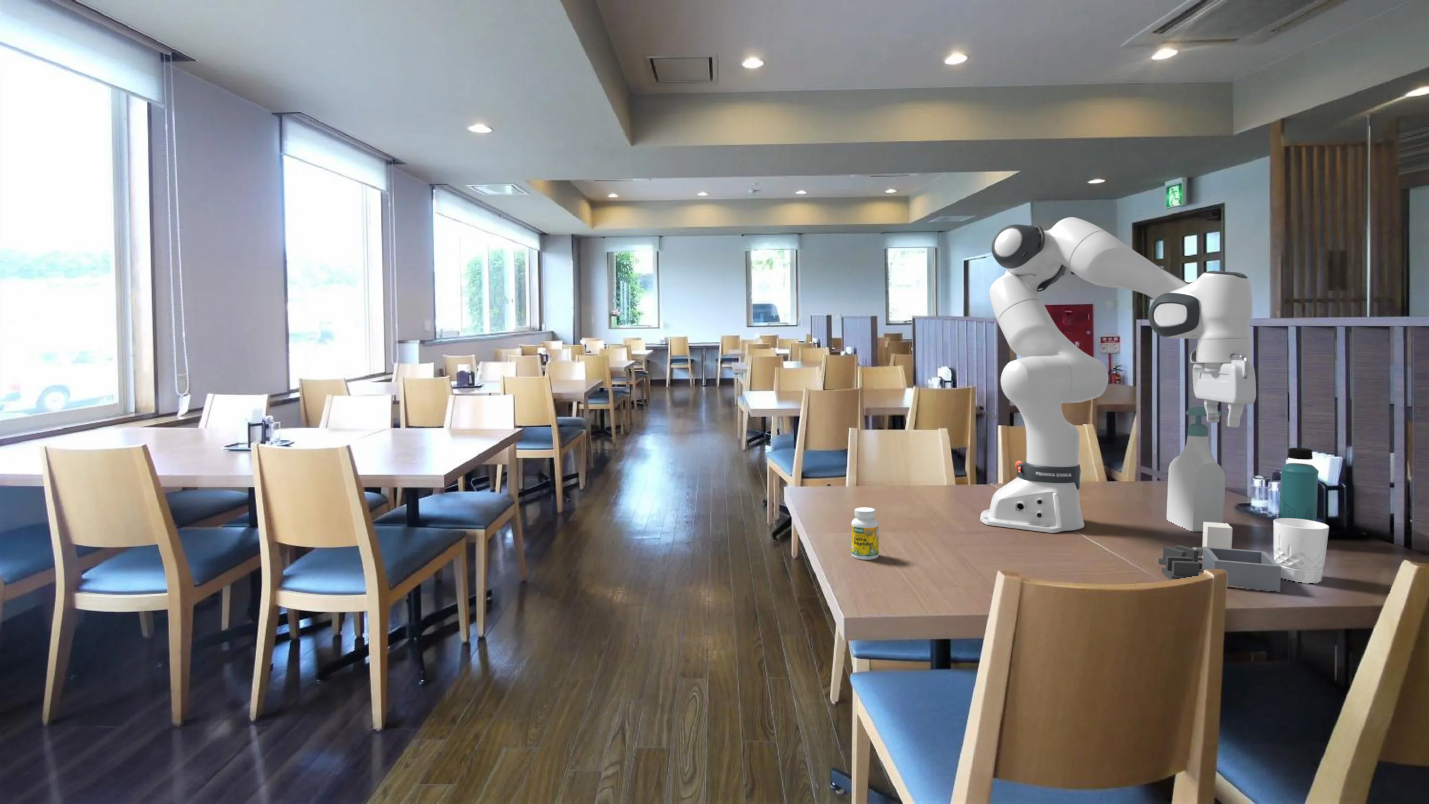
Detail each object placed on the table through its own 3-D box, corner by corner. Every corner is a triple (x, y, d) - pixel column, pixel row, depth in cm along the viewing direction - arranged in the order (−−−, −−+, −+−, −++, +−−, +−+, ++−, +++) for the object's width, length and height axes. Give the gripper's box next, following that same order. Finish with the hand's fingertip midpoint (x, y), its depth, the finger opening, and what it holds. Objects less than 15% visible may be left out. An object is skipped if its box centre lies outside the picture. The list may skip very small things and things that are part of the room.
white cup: (1259, 572, 141) (1262, 518, 140) (1299, 570, 141) (1302, 517, 141) (1295, 586, 133) (1298, 529, 132) (1337, 584, 134) (1341, 528, 133)
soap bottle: (1231, 532, 168) (1237, 408, 166) (1192, 532, 169) (1198, 408, 167) (1202, 520, 179) (1208, 404, 177) (1166, 520, 180) (1171, 404, 177)
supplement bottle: (879, 553, 155) (880, 507, 154) (877, 561, 150) (877, 513, 149) (852, 551, 156) (853, 505, 156) (849, 559, 151) (849, 511, 151)
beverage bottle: (1322, 547, 156) (1328, 450, 154) (1286, 546, 157) (1291, 450, 156) (1305, 539, 162) (1310, 446, 161) (1269, 537, 164) (1274, 445, 162)
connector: (1194, 561, 148) (1195, 525, 147) (1190, 555, 152) (1191, 520, 151) (1230, 564, 146) (1232, 528, 145) (1225, 558, 149) (1227, 523, 149)
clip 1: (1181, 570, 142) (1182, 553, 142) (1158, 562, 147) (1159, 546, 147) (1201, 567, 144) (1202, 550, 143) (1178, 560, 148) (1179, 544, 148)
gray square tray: (1213, 585, 133) (1214, 560, 133) (1202, 570, 142) (1203, 546, 142) (1279, 592, 130) (1281, 566, 129) (1263, 575, 138) (1265, 551, 138)
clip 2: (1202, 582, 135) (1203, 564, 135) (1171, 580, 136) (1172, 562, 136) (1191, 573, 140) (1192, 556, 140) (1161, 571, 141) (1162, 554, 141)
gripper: (1267, 353, 138) (1265, 429, 139) (1221, 353, 158) (1219, 420, 159) (1227, 354, 140) (1226, 429, 141) (1187, 354, 160) (1185, 420, 160)
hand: (1222, 424), depth 150 cm, fingers open, 8 cm apart
